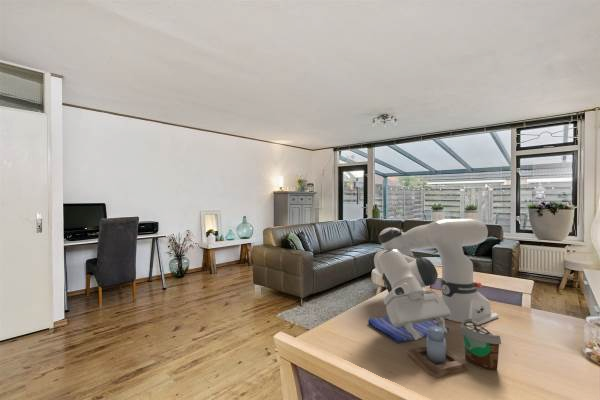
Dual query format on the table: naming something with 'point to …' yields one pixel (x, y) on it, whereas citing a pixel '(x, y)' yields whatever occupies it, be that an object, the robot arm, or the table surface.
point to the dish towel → (400, 329)
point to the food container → (480, 345)
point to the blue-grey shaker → (436, 345)
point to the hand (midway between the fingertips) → (431, 336)
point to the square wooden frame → (449, 367)
